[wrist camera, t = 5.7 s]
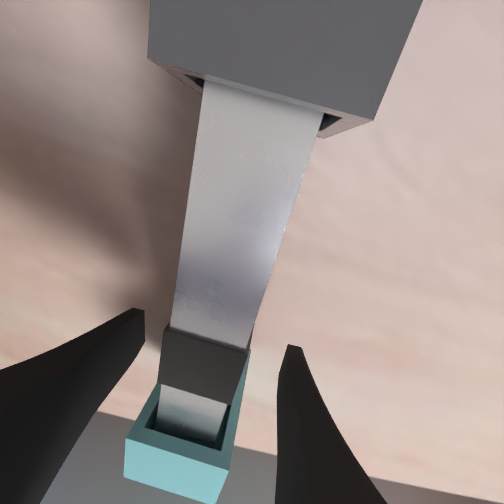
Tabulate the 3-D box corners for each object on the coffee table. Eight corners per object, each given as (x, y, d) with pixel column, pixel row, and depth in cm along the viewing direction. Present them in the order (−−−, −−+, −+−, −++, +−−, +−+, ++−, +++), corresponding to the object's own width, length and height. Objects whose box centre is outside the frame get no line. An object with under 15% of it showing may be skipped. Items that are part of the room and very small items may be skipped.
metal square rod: (370, -42, 7) (438, -198, 4) (225, 403, 15) (210, 465, 12) (259, -71, 7) (238, -246, 4) (176, 388, 15) (148, 446, 12)
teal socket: (250, 350, 17) (228, 470, 10) (239, 382, 18) (214, 506, 12) (186, 330, 17) (125, 438, 11) (180, 364, 18) (123, 476, 12)
